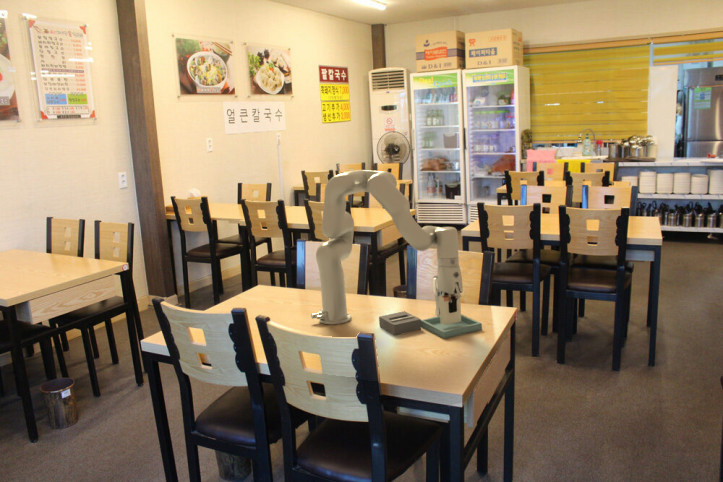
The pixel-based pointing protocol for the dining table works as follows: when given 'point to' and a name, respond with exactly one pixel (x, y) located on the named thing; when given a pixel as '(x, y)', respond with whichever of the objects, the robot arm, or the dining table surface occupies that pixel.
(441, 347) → the dining table surface
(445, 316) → the cream rectangular block
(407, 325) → the block
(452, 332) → the tray
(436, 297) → the beer glass
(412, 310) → the dining table surface
